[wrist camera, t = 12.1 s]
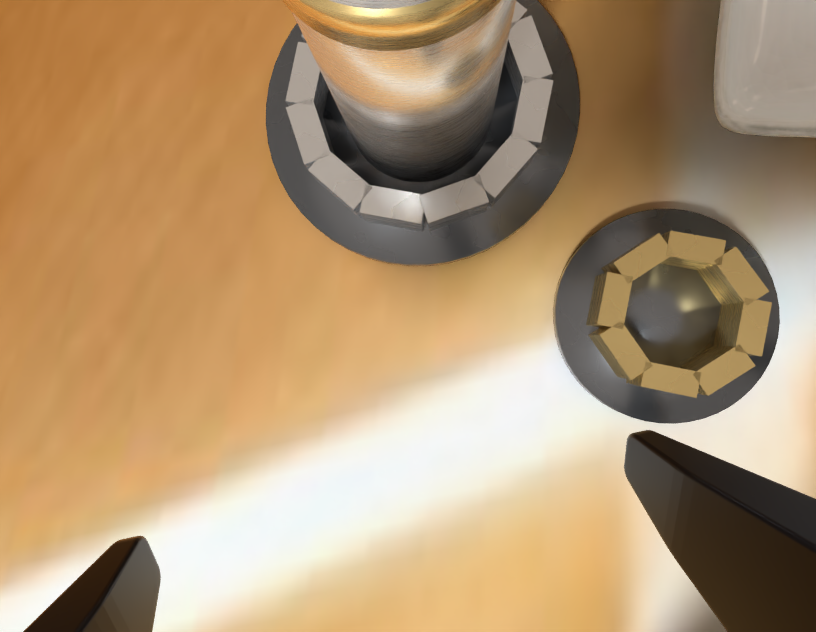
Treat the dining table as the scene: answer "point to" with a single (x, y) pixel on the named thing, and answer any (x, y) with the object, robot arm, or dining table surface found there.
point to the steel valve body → (411, 76)
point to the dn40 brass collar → (666, 316)
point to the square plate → (766, 67)
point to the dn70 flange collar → (444, 198)
